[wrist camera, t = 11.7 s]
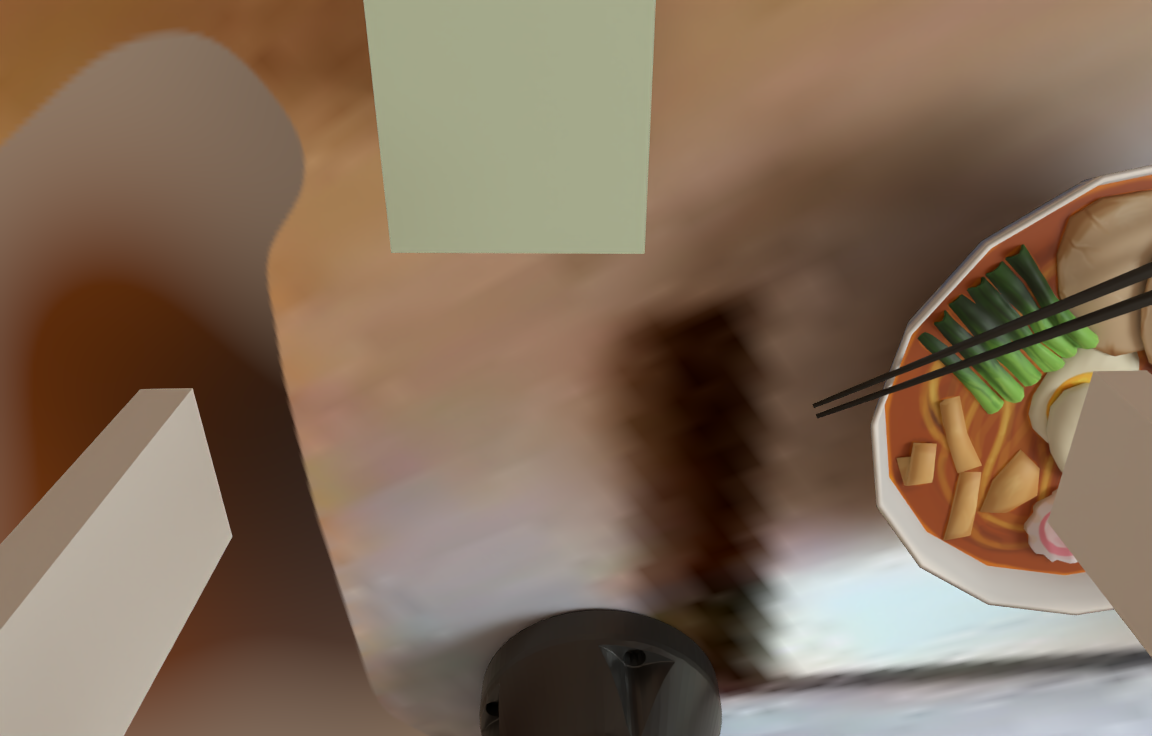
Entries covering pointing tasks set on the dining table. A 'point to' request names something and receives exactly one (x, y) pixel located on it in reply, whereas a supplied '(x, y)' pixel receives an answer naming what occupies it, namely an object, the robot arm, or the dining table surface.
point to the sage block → (513, 123)
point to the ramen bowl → (1012, 392)
